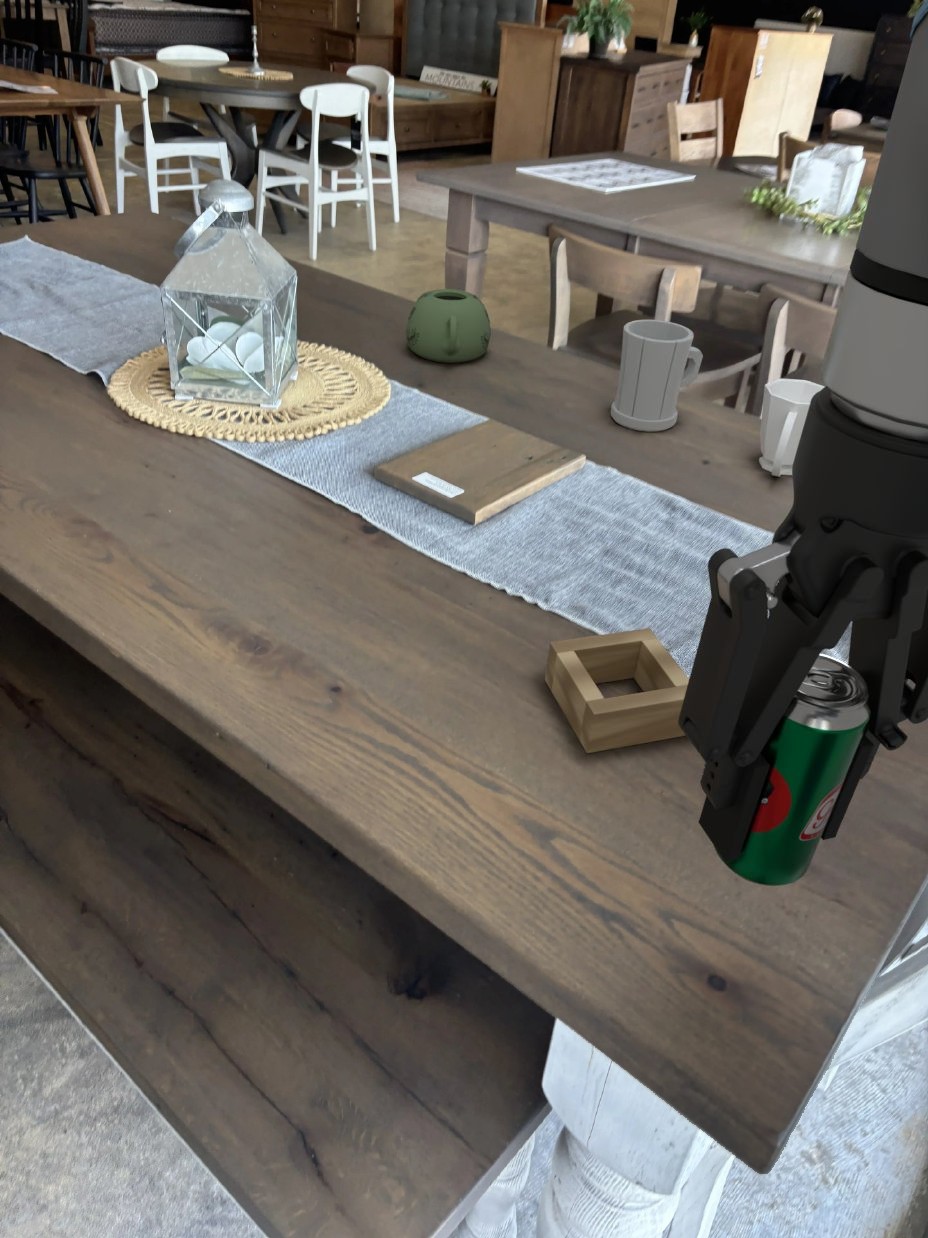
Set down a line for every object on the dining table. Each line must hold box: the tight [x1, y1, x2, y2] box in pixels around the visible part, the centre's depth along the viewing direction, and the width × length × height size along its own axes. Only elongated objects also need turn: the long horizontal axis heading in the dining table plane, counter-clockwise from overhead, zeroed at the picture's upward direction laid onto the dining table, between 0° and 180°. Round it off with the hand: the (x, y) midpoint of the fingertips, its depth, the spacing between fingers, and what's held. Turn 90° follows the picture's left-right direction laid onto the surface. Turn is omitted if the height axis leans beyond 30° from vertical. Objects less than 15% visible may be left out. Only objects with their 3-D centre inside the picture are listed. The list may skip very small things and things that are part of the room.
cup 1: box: [610, 319, 704, 433], centre depth 119 cm, size 10×9×12 cm
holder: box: [544, 627, 690, 754], centre depth 72 cm, size 9×9×4 cm
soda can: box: [713, 652, 871, 887], centre depth 45 cm, size 5×5×12 cm
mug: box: [405, 288, 492, 364], centre depth 135 cm, size 16×13×9 cm
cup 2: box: [758, 378, 825, 478], centre depth 108 cm, size 8×12×10 cm
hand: (766, 829), depth 47 cm, fingers closed on soda can, 5 cm apart
